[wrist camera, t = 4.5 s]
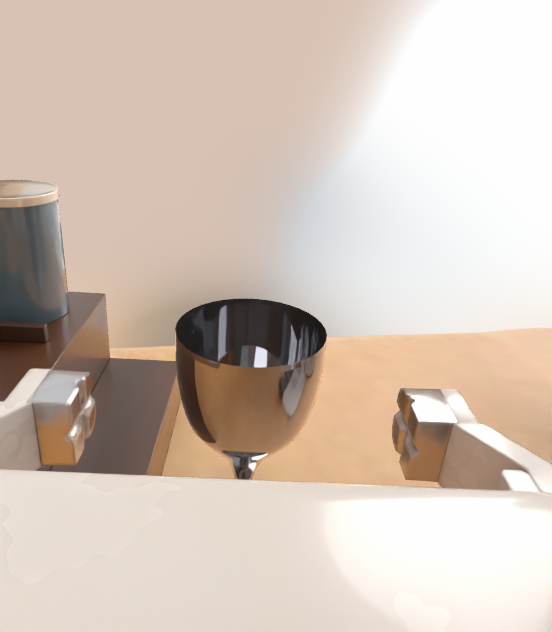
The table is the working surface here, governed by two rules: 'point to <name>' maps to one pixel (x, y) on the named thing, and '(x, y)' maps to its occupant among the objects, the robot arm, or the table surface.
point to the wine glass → (248, 376)
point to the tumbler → (31, 253)
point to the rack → (99, 387)
